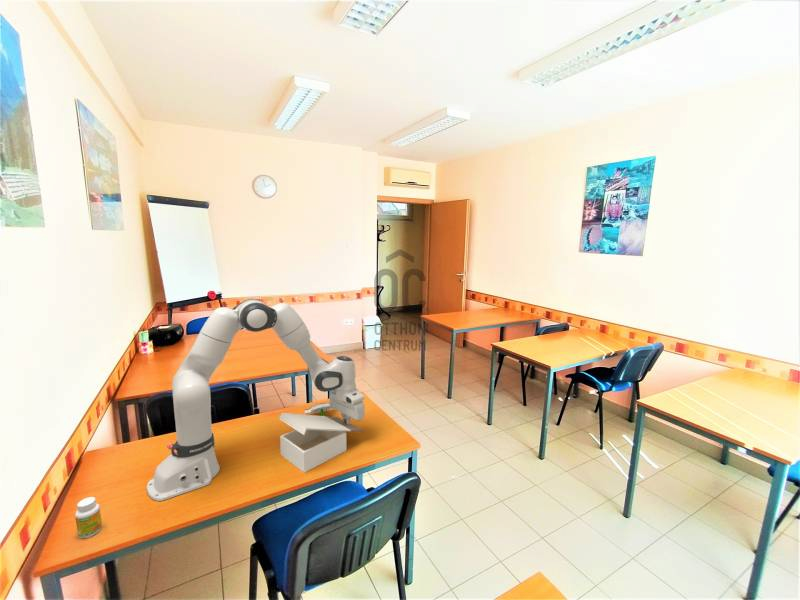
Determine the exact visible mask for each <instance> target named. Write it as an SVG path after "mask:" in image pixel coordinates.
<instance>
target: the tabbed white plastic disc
mask: <svg viewBox="0 0 800 600" xmlns="http://www.w3.org/2000/svg"><path fill="white" fill-rule="evenodd" d="M326 410H327V411H329V410H334V409H333V408H331V407H330V401H329V402H321V403H318V404H314V405H312V406H311V407H310V408H307V409H304V415H309V414H317V413H316V412H318V413H320V416H325V414H324V412H327V411H326Z"/></svg>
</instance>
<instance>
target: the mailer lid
mask: <svg viewBox="0 0 800 600" xmlns="http://www.w3.org/2000/svg"><path fill="white" fill-rule="evenodd" d="M279 420H280V421H281V422H283V423H284V424H286V425H288V426H289V427H290V428H293V429H294V430H297V431H298V432H300V433H301V434H303V435H305V433H306V430H328V431H345V432H354V433H355V432H356V433H364V430H363V429H361V428H359V427H358V426H356V425H354V424H351V422H350V423H349V424H346V423H344V422H343V418H340V417H339V416H328V415H327V416H325V415H324V416H321V415H313V414H302V413H291V412H290V413H289V412H288V413H287V412H281V414H280V416H279Z"/></svg>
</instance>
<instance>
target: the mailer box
mask: <svg viewBox="0 0 800 600" xmlns="http://www.w3.org/2000/svg"><path fill="white" fill-rule="evenodd" d="M279 441H280V443H279V447H280V455H281V456H282V457H283V458H285V459H286V460H287V461H288V462H290V463H291V464H292V465H294V466H295V467H296V468H297V469H298V470H300V471H301V472H303V473H306V472H309V471H310V470H312V469H314V468H316V467H318V466H320V465H322V464H323V463H325V462H327V461H330V460H331V459H333V458H335V457H337V456H339V455H340V454H342V453H345V452H346V451H347V450H348V449H347V431H328V430H306V433H305V435H303V434H301V433H300V432H298V431H297V430H295V429H294V430H291V431H289V432H287V433H284V434H281V435H279Z"/></svg>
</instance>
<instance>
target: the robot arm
mask: <svg viewBox="0 0 800 600" xmlns="http://www.w3.org/2000/svg"><path fill="white" fill-rule="evenodd" d="M243 328H244V329H245V330H247V331H249V332H252V333H253V332H254V333H257V332H261V331H265V330H268V329H272V330H273V331H274V332H275V334H276V335H277V337H278V338H279V339H280V341H281V342H282V343H283V344H284V345H285V346H286V347H287V348H288V350H292V351H296V352H297V353H298V354H299V355H300V357H301V359H302V360H303V361H304V363H305V364H306V366H307V371H308V375H309V378H310V380H312V382H313V384H314V386H315V388H316V389H317V390H318V391H320V392H324V393H325V392H330V395H329V402H330V407H331V408H333V409H332V410H335V411H337V412H339V413H340V415H341V417H342V418H341V419H342V420H343V422H344V423H346V424H349V423H350V424H351V419H353V420H355V421H358V422H359V421H361V420H363V419H364V418H365V415H366V414H365V413H366V411H365V407H366V406H365V402H364V400H365V396H364V394H363V393H362V392H360V390H359V389H358V388H357V385H356V377H357V375H356V366H355V361H354V360H353V359H352V358H351V357H349V356H345V355H339V356H337V357H336V358H335V359H334V360H332V361H331V362H329V361H327V360H326V359H324V358H322V357H321V356H320V355H319V354H318V352H317V351H316V349H315V348H314V346H313V345H312V342H311V334H310V332H309V329H308V327H307V325H306V323H305V322H304V321H303V319H302V317H301V316H300V315H299V314H298V312H297V311H296V310H295V309H294V308H293V307H292V306H291V305H290V304H289V303H287V302H280V303H277V304H275V305H273V306H268V305H267V304H265V302H263V301H261V300H259V299H256V298H248V299H246V300H243V301H242V302H241V303H239V304H237V305H236V306H234V307H232V308H229V307H225V306H224V307H223V306H221V307H217V308H215V309H214V310H213V311H212V312H211V314H210V316H208V318H207V319H206V321H205V322H204V324H203V326H202V328H201V329H200V331H199V333H198V335H197V337H196V339H195V340H194V343H193V344H192V347H191V348H190V351H189V352H188V353H187V356H185V359H184V360H183V361H182V362H181V364H180V365H179V367H178V369H177V371H176V373H175V374H174V376H173V378H172V383H171V384H172V385H171V386H172V387H171V389H172V400H173V402H172V403H173V413H174V421H175V431H176V432H175V433H176V434H175V435H176V442H174V443H173V442H172V441H170V442H168V443H167V444H166V448H167V449H168V450H170V452H171V453H170V454H169V455H168V456H167V457H166V458H165V459H164V460H163V461H162V462H160V463H159V464H158V465H157V466H156V468H155V471H154V475H153V478H152V479H150V480H149V481H148V482H147V484H146V492H147V495H148V496H149V497H150V499H152V500H154V501H157V502H162V501H165V500H169V499H171V498H173V497H177V496H179V495H182V494H186V493H189V492H192V491H194V490H197V489H200V488H203V487H207V486H209V485H210V484H211V482H212V480H213V478H215V476H216V475H217V474H218V473H219V472H220V469H221V466H220V464H219V462H218V459H217V456H216V453H215V452H216V451H215V443H216V442H215V441H216V440H215V435H214V433H213V428H212V427H213V426H212V414H211V413H212V412H211V411H212V409H211V407H212V405H211V402H212V401H211V400H212V399H211V387H210V384H209V382H210V379H211V377H212V375H213V374H214V373H215V371H216V369H217V368H218V367H219V366H220V365H221V364H222V363H223V361H224V359H225V356H226V354H227V352H228V351H229V348H230V347H231V345H232V342H233V340H234V338H235V336H236V334H237V333H238V332H239V331H240V330H242V329H243Z"/></svg>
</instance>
